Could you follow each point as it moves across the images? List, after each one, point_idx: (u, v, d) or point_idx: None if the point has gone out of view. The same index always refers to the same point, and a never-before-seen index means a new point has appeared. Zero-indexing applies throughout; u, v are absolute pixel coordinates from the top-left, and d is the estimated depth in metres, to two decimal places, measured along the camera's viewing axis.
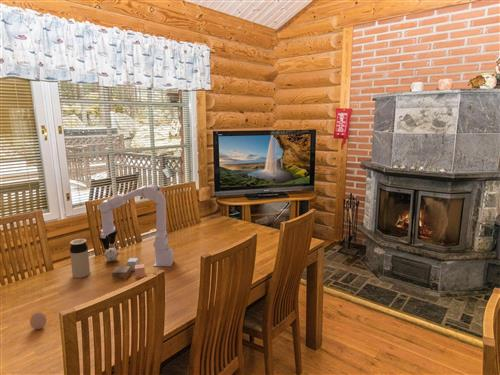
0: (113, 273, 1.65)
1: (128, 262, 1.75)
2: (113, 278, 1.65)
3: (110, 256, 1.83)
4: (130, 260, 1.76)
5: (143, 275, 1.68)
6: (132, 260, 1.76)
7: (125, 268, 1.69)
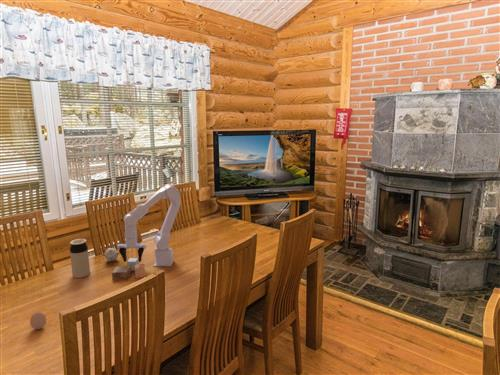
0: (113, 273, 1.65)
1: (128, 262, 1.75)
2: (113, 278, 1.65)
3: (110, 256, 1.83)
4: (130, 260, 1.76)
5: (143, 275, 1.68)
6: (132, 260, 1.76)
7: (125, 268, 1.69)
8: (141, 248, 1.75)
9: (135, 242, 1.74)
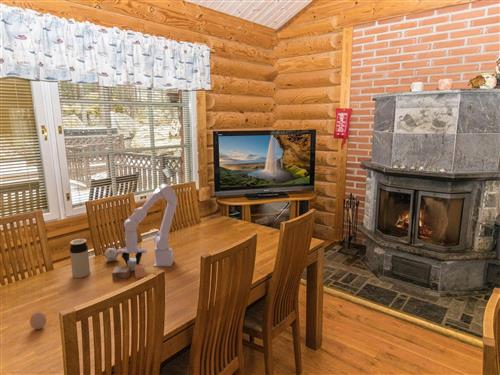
0: (113, 273, 1.64)
1: (128, 262, 1.75)
2: (113, 278, 1.65)
3: (110, 256, 1.83)
4: (130, 260, 1.76)
5: (143, 275, 1.68)
6: (132, 260, 1.75)
7: (125, 268, 1.69)
8: (141, 253, 1.75)
9: (135, 247, 1.74)
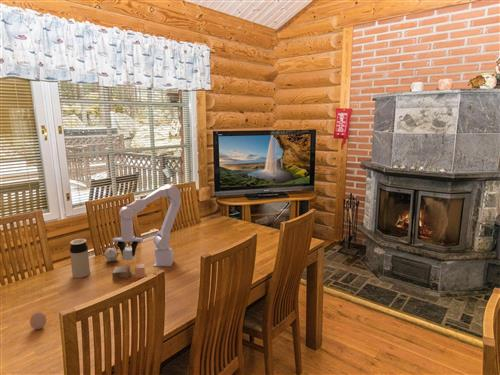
0: (114, 273, 1.64)
1: (124, 251, 1.71)
2: (114, 278, 1.65)
3: (110, 256, 1.83)
4: (126, 249, 1.72)
5: (143, 275, 1.68)
6: (128, 250, 1.72)
7: (125, 268, 1.69)
8: (137, 242, 1.71)
9: (131, 236, 1.70)
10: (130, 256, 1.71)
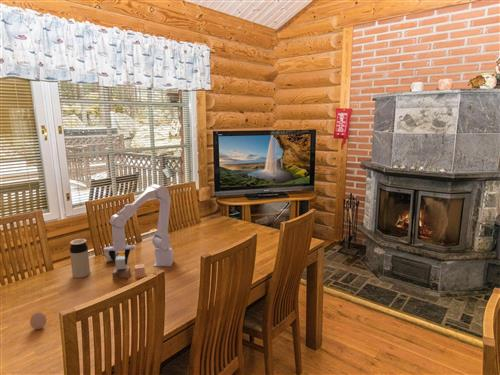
0: (114, 273, 1.64)
1: (116, 260, 1.65)
2: (114, 278, 1.65)
3: None
4: (118, 258, 1.66)
5: (143, 275, 1.68)
6: (120, 258, 1.66)
7: (125, 268, 1.69)
8: None
9: (124, 244, 1.65)
10: (123, 265, 1.66)
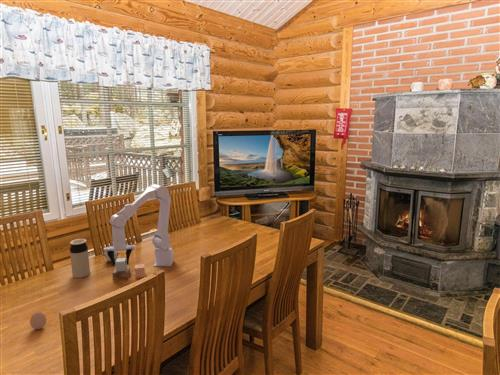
0: (114, 273, 1.64)
1: (116, 262, 1.65)
2: (114, 278, 1.65)
3: None
4: (118, 260, 1.66)
5: (143, 275, 1.68)
6: (121, 260, 1.66)
7: None
8: (130, 250, 1.66)
9: (124, 244, 1.65)
10: (124, 267, 1.66)
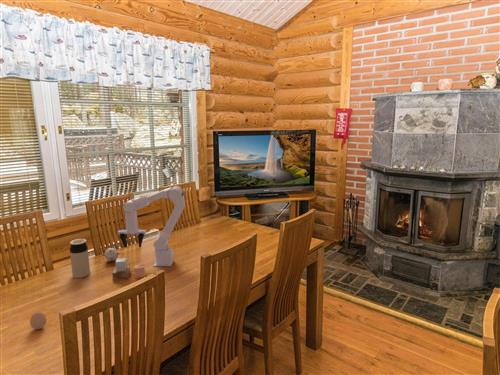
0: (114, 273, 1.64)
1: (117, 263, 1.65)
2: (114, 278, 1.65)
3: (110, 256, 1.83)
4: (118, 260, 1.66)
5: (143, 275, 1.68)
6: (121, 260, 1.66)
7: None
8: (141, 234, 1.79)
9: (135, 228, 1.78)
10: (124, 267, 1.66)
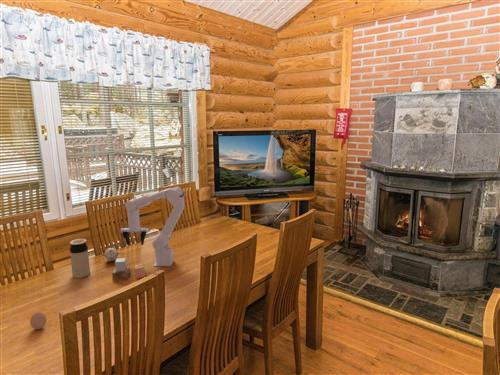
0: (114, 273, 1.64)
1: (116, 263, 1.65)
2: (113, 278, 1.65)
3: (110, 256, 1.83)
4: (118, 260, 1.66)
5: (143, 275, 1.68)
6: (120, 260, 1.66)
7: None
8: (143, 232, 1.82)
9: (138, 226, 1.81)
10: (123, 267, 1.66)
